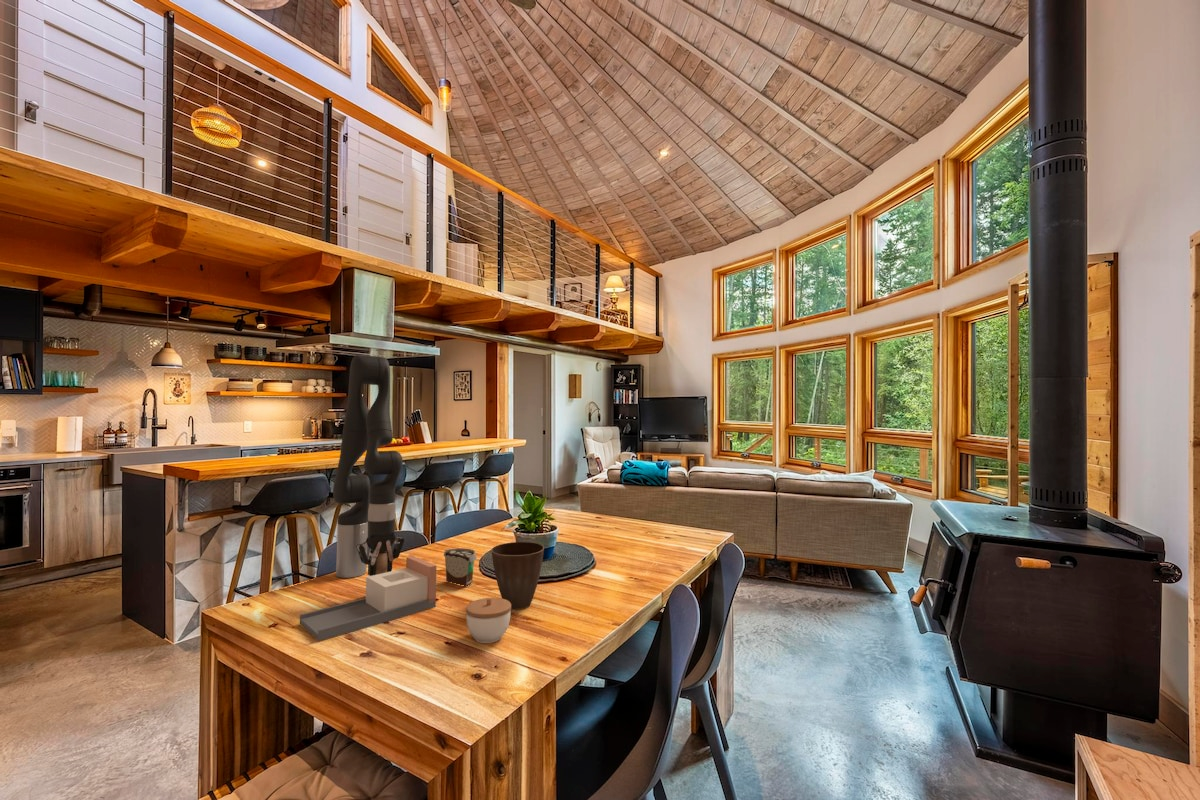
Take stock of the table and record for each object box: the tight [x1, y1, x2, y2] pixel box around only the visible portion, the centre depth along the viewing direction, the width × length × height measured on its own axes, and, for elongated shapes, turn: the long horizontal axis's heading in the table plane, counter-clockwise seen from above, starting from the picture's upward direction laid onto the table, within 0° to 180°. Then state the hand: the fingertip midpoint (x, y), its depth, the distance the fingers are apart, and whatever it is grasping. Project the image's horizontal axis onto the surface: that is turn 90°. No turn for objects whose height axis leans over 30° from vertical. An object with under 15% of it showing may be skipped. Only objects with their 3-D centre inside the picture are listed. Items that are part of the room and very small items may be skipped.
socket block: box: [365, 567, 428, 612], centre depth 138 cm, size 12×12×7 cm
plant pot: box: [491, 541, 545, 610], centre depth 142 cm, size 15×15×16 cm
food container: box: [443, 547, 477, 586], centre depth 160 cm, size 12×6×10 cm, turn 58°
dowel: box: [374, 551, 388, 575], centre depth 148 cm, size 4×4×10 cm
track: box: [299, 555, 437, 642], centre depth 133 cm, size 14×30×12 cm, turn 137°
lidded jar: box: [465, 597, 512, 644], centre depth 120 cm, size 11×11×9 cm
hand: (379, 574), depth 148 cm, fingers closed on dowel, 4 cm apart
